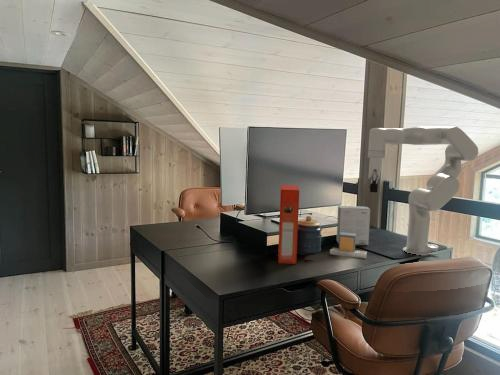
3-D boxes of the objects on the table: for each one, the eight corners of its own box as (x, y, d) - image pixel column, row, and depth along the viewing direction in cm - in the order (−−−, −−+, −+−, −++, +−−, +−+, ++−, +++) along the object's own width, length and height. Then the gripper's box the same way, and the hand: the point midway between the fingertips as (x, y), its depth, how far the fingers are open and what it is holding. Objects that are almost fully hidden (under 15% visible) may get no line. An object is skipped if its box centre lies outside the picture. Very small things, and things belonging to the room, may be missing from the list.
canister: (319, 257, 180) (322, 219, 178) (291, 254, 183) (293, 217, 181) (321, 249, 192) (323, 214, 190) (295, 247, 195) (296, 212, 193)
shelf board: (366, 254, 187) (367, 247, 186) (365, 261, 176) (366, 254, 175) (332, 250, 192) (333, 243, 191) (329, 257, 180) (330, 249, 180)
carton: (339, 250, 187) (340, 232, 186) (354, 252, 185) (356, 233, 183) (338, 253, 182) (339, 234, 181) (353, 255, 179) (355, 236, 178)
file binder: (277, 263, 169) (280, 189, 165) (277, 251, 186) (280, 184, 183) (296, 264, 169) (300, 190, 165) (294, 252, 186) (298, 185, 182)
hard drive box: (365, 244, 207) (368, 206, 204) (368, 248, 199) (371, 209, 197) (335, 242, 208) (338, 205, 206) (337, 246, 200) (339, 207, 198)
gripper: (368, 154, 193) (366, 188, 195) (367, 154, 177) (364, 192, 179) (384, 154, 191) (382, 189, 193) (385, 155, 174) (382, 193, 176)
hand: (373, 191), depth 186 cm, fingers open, 9 cm apart
